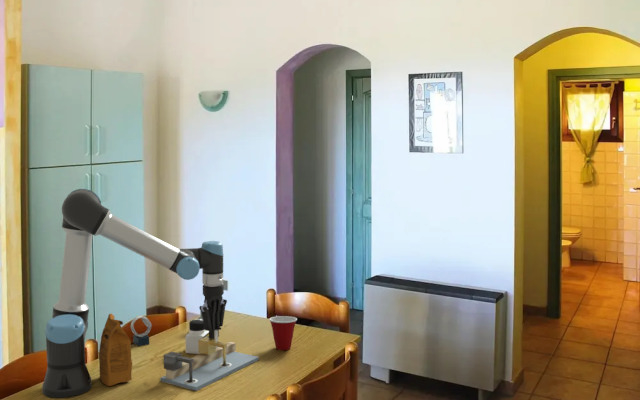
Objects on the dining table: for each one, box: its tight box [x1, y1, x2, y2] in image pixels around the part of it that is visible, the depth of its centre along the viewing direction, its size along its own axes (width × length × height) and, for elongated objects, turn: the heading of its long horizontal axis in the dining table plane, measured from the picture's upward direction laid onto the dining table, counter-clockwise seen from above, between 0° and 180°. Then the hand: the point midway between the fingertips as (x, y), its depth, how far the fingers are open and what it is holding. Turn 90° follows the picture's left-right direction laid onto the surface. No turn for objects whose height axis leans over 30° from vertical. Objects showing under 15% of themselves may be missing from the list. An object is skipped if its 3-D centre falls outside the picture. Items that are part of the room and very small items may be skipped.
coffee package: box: [98, 313, 133, 387], centre depth 228 cm, size 10×12×22 cm
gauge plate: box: [160, 351, 260, 392], centre depth 238 cm, size 34×16×1 cm, turn 148°
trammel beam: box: [163, 341, 237, 382], centre depth 239 cm, size 34×11×8 cm, turn 148°
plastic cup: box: [269, 315, 298, 351], centre depth 261 cm, size 11×11×12 cm
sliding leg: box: [198, 337, 227, 365], centre depth 241 cm, size 4×11×8 cm, turn 58°
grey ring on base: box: [130, 315, 153, 347], centre depth 267 cm, size 6×8×11 cm
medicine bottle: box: [185, 318, 209, 355], centre depth 258 cm, size 7×7×12 cm
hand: (214, 347), depth 246 cm, fingers closed
